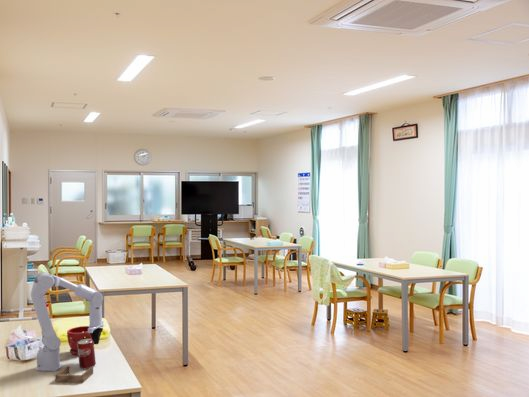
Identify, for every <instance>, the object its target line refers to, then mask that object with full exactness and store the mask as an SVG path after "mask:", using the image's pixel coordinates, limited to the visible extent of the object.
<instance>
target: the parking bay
mask: <svg viewBox="0 0 529 397" xmlns="http://www.w3.org/2000/svg"><path fill="white" fill-rule="evenodd" d="M67 374H68V375H67ZM93 374H94V367H90V368H89V369H86V371H84V373H82V374H70V366H66V367H64V368H63V369H62V370H61V371H59V372H58V373H57V374H55V383H69V384H70V383H71V384H72V383H73V384H77V383H78V384H83V383H85V382H86V381H87V380H88V379H89V378H90V377H91V376H93Z"/></svg>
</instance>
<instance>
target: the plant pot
mask: <svg viewBox="0 0 529 397" xmlns="http://www.w3.org/2000/svg"><path fill="white" fill-rule="evenodd" d="M88 328H89V325H84V326H83V325H82V326H76V327H71V328H69V329H68V330H67V331H66V334H67V335H66V336H67V343H68V345H69V348H70V349H69V352H70V354H72V355H75V356H78V348H77V343H78V342H79V341H80V340H83V339H92V337H91V335H90V333H88Z"/></svg>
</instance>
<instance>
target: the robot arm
mask: <svg viewBox="0 0 529 397" xmlns="http://www.w3.org/2000/svg"><path fill="white" fill-rule="evenodd" d="M53 287H54V288H56V287H62V288H65V289H68V290H70V291H72V292H73V293H74V295H75V296H77V297H79V298H81V299H82V300H85V301H88V302H89V315H88V316H89V325H88V326H89V328H88V333H90V335H91V337H92V340H93V341H94V345H99V344H100V338H101V335H102V332H103V330H104V328H105V324H104V321H103V316H102V314H103V313H102V312H103V311H102V309H103V306H102V302H103V301H104V295H103V294H102V293H101V292H100V291H98V290H96V289H95V288H91V287H89V286H87V284H85V283H83V284H82V283H80V284H75V283H73V282H71V281H69V280H67V279H65V278H62V277H60V276H58V275H54V274H51V273H50V274H49V273H48V272H45V271H44V272H39V273H38V274H37V275H36V277H35V278H34V279H33V284H32V288H31V292H30V297H31V301H32V304H33V308H34V311H35V313H36V316H37V320H38V323H39V326H40V329H41V335H42V338H41V343H42V344H43V348H40V349H39V350H37V353H36V369H35V370H36V371H41V372H42V371H45V372H56V371H58V370H59V369H61V368H62V367H63V366H64V363H63V364H62V363H61V356H60V355H61V354H60V352H61V350H60V348H61V344H62V343H61V339H60V337H58V335H57V334H56V330H55V329H54V326H53V324H52V320H51V317H50V314H49V310H48V306H47V304H46V302H45V298H44V296H45V295H46V293H47V292H48V291H49V290H50V289H51V288H53Z"/></svg>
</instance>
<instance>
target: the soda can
mask: <svg viewBox="0 0 529 397" xmlns="http://www.w3.org/2000/svg"><path fill="white" fill-rule="evenodd" d="M77 348H78V355H77V356H78V365H79V368H80V369H82V370H88V369H89V368H90V367H93V368H94V367H95V366H96V365H97V362H96V353H95V344H94V341H93V340H92V339H83V340H80V341H79V342H78V343H77Z"/></svg>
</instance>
